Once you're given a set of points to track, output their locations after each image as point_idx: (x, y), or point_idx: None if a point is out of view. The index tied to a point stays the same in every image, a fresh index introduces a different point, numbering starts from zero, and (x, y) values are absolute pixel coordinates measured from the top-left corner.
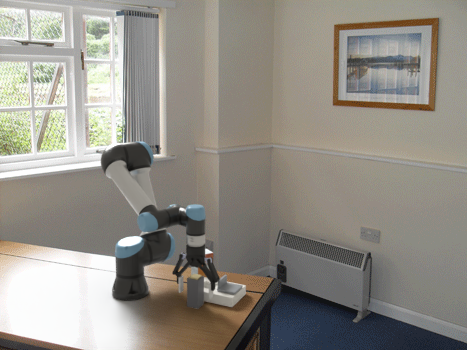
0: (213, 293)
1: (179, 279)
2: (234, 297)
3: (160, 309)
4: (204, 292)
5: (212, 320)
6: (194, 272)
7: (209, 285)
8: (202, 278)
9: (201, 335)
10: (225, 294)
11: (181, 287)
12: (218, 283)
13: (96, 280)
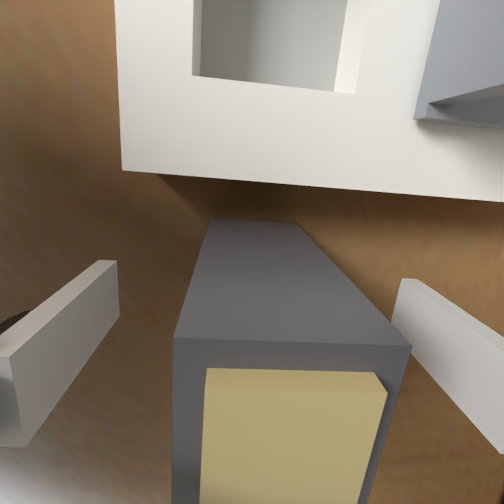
0: (388, 182)
1: (32, 419)
2: None
3: (82, 382)
4: (299, 184)
5: (403, 378)
6: None
7: (488, 429)
8: (389, 384)
9: (387, 493)
10: (497, 160)
11: (100, 317)
12: (485, 92)
13: None
